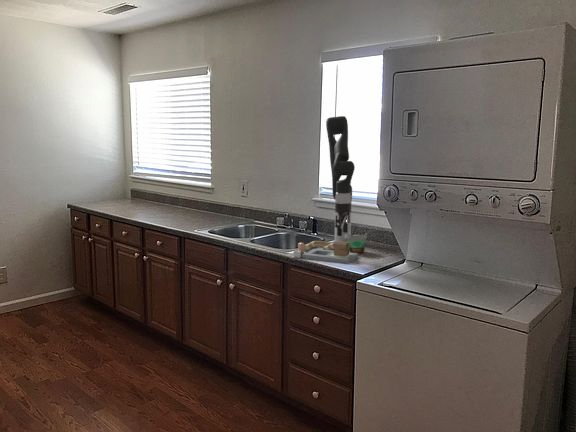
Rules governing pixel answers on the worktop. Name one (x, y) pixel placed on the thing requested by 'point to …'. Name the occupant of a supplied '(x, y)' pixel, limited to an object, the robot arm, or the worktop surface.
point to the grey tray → (329, 256)
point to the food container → (356, 243)
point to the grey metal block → (297, 253)
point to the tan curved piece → (319, 245)
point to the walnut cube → (341, 248)
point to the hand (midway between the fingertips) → (342, 234)
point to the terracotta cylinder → (301, 247)
